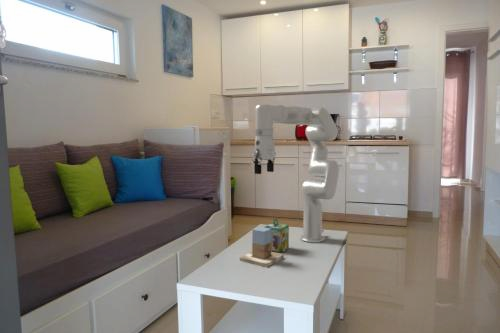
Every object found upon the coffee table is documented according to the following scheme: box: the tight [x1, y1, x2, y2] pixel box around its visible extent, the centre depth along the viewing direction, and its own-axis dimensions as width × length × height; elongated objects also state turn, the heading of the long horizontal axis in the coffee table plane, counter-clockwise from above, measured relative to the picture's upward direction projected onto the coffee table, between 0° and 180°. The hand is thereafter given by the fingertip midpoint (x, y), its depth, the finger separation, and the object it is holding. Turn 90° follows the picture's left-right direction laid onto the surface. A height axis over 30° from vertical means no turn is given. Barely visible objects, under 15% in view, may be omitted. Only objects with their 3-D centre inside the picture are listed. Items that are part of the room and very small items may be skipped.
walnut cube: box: [251, 242, 272, 259], centre depth 163 cm, size 6×6×6 cm
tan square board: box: [239, 251, 284, 268], centre depth 163 cm, size 14×14×2 cm
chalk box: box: [264, 217, 290, 254], centre depth 177 cm, size 9×9×15 cm
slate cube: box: [251, 226, 271, 245], centre depth 162 cm, size 6×6×6 cm
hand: (264, 172), depth 161 cm, fingers open, 9 cm apart
